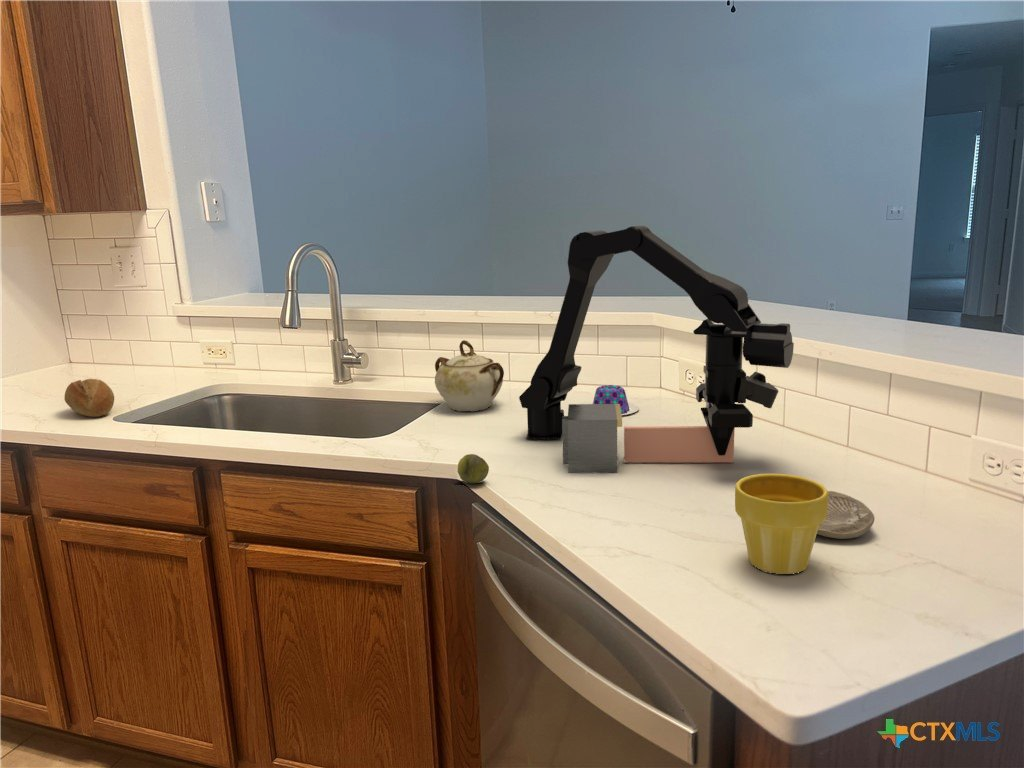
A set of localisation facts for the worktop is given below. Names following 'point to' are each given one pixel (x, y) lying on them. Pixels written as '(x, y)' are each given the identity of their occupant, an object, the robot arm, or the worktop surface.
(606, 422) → the grey upright box
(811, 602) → the worktop surface
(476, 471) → the lime
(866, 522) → the fossil
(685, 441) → the salmon pink plank
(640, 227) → the robot arm
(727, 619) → the worktop surface
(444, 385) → the sugar bowl
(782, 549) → the plant pot
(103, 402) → the bread roll
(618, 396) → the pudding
